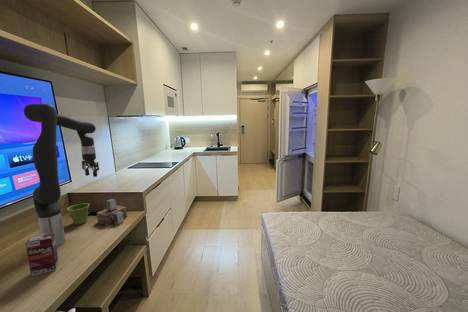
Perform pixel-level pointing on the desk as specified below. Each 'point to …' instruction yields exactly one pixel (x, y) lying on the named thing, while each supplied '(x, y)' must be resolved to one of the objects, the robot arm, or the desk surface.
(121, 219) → the grey rectangular block
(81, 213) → the plant pot
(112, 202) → the tall pin
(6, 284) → the desk surface
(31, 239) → the supplement box
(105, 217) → the block with rectangular hole
